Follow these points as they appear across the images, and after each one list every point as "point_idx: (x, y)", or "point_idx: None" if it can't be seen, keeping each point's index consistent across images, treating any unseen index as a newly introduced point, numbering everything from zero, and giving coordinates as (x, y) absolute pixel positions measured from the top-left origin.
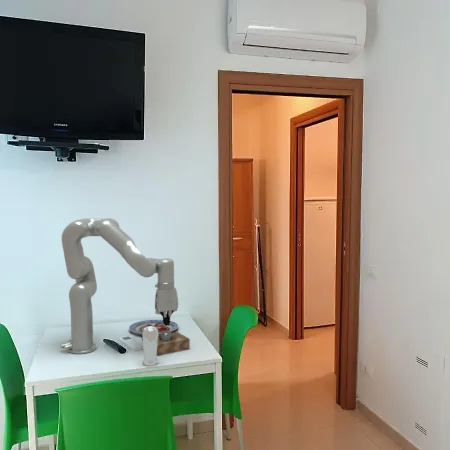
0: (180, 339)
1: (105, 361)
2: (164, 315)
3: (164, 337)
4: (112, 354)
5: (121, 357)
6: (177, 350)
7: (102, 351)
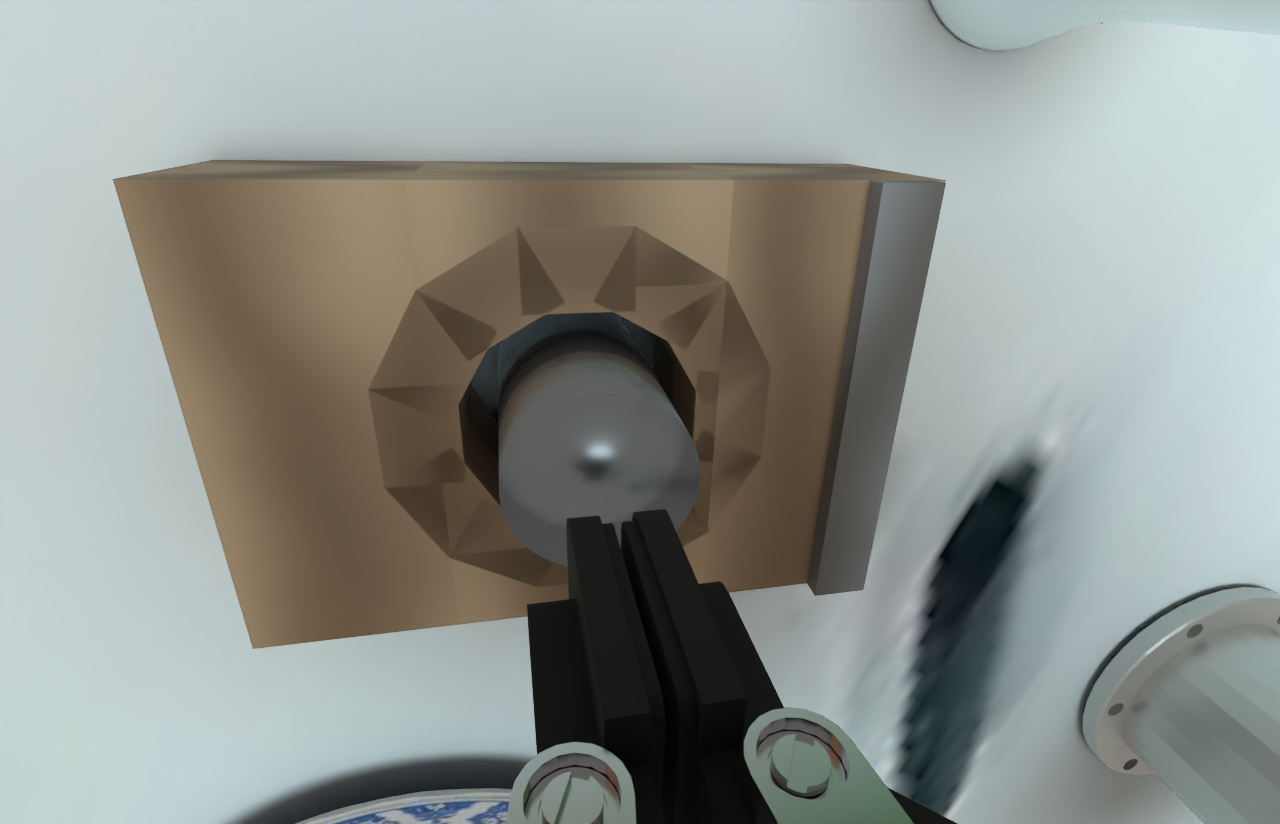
0: (346, 238)
1: (1274, 322)
2: (858, 788)
3: (654, 382)
4: (1111, 474)
5: (1111, 351)
6: (456, 164)
7: (1116, 581)
